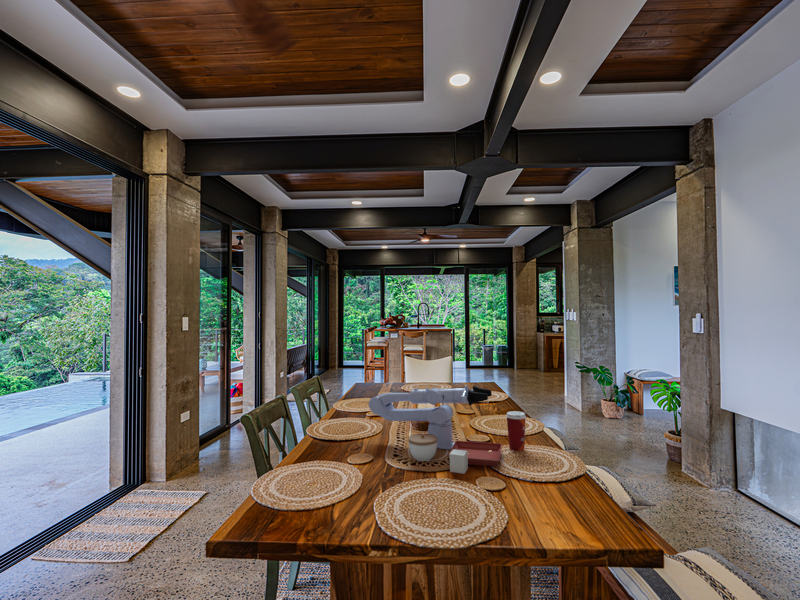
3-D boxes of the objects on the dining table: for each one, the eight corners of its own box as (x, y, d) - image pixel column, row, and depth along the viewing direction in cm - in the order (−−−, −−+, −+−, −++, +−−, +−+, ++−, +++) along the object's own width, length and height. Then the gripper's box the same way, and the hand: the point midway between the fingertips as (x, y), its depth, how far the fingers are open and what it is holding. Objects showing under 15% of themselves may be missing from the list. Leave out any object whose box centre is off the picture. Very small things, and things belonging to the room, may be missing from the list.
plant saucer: (447, 465, 142) (447, 455, 142) (455, 448, 159) (455, 440, 159) (499, 470, 137) (499, 460, 137) (502, 452, 154) (502, 443, 154)
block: (449, 471, 136) (449, 454, 136) (453, 466, 140) (453, 449, 140) (464, 473, 134) (464, 455, 134) (467, 468, 138) (467, 450, 138)
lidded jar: (427, 466, 140) (426, 439, 141) (402, 460, 147) (402, 434, 147) (443, 457, 149) (442, 432, 149) (419, 451, 155) (418, 427, 156)
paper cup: (529, 452, 152) (528, 415, 152) (509, 452, 152) (508, 415, 153) (523, 445, 160) (522, 410, 160) (504, 445, 160) (503, 410, 160)
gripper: (449, 389, 153) (484, 387, 148) (459, 382, 167) (491, 381, 162) (451, 407, 153) (486, 407, 148) (460, 399, 166) (493, 398, 161)
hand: (489, 394), depth 155 cm, fingers open, 7 cm apart
